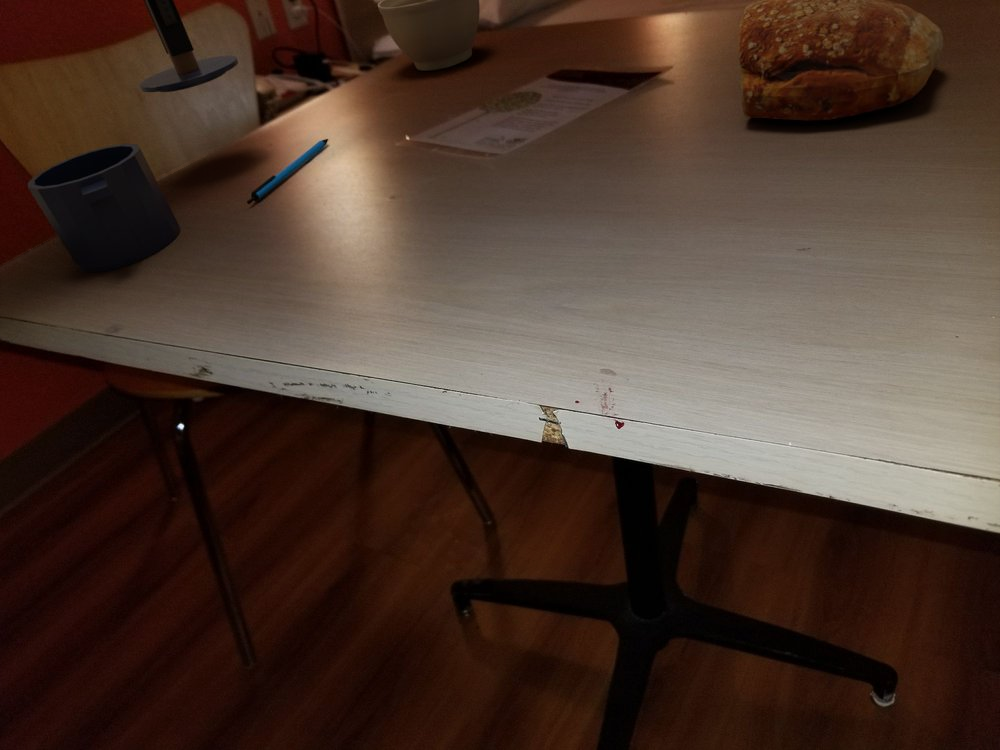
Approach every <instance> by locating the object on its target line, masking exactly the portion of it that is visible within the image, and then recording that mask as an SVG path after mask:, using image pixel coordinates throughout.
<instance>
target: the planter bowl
mask: <svg viewBox="0 0 1000 750" xmlns="http://www.w3.org/2000/svg"><path fill="white" fill-rule="evenodd" d="M480 6H481V5H480V0H381V1H380V2H378V3H377V8H378V11H379V13H380V15H381V16H382V19H383V22H384V26H385V28H386V30H387V32H388V33H389V35H390V37H391V39H392V41H393V42H394V43H395V45H396V46H397V47H398V49H400V51H401V52H402V54H404V55H405V56H406V57H408V58H409V59H410V60H411V61H412V62H413V64H414V66H415V68H416V69H417V70H418V71H422V72H423V71H424V72H429V71H430V72H431V71H437V70H442V69H447V68H450V67H453V66H456V65H459V64H462V63H464V62H466V61H467V60H469V58H471V57H472V55H473V48H472V46H473V43H474V41H475V39H476V36H477V33H478V29H479V23H480V22H479V21H480V14H481V13H480V11H481V8H480Z"/></svg>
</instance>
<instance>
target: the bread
mask: <svg viewBox="0 0 1000 750" xmlns="http://www.w3.org/2000/svg"><path fill="white" fill-rule="evenodd" d="M742 13H743V15H742V19H741V21H740V23H739V27H738V36H737V37H738V40H737V46H738V47H737V48H738V51H737V53H738V54H737V55H738V59H739V65H740V98H741V99H740V100H741V101H740V102H741V107H742V111H743V113H744V115H745V116H746V117H749V118H754V119H773V120H787V121H805V122H807V121H831V120H837V119H843V118H847V117H853V116H857V115H862V114H865V113H870V112H874V111H879V110H883V109H888V108H892V107H895V106H898V105H899V104H901V103H904V102H906V101H909V100H911V99H913V98H914V97H915V96H916V95H918V94H919V92H921V91H922V89H923V88H924V87H925V86H926V85H927V83H928V80H929V78H930V77H931V75H932V73H933V71H934V69H935V68H936V66H937V65H938V64H939V63H940V60H941V56H942V50H943V48H944V44H945V43H944V37H943V33H942V30H941V28H940V27H939V26H938V25H937V24H935V23H934V22H933V21H931V20H930V19H929V18H928V17H927V16H926V15H924V14H922V13H921V12H918V11H917V10H914V9H912V7H909V6H908V5H906V4H902V3H898V2H894V1H890V0H758V1H755V2H753V3H750V4H748V5H747V6H746V7H745V8H744V10H743V12H742Z"/></svg>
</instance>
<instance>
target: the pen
mask: <svg viewBox="0 0 1000 750" xmlns="http://www.w3.org/2000/svg"><path fill="white" fill-rule="evenodd" d="M328 141H329V138H325V139H322V140H319V141H318V142H317V143H316V144H314V145H313V146H312V147H310V148H309V149H308V150H306V151H305V152H304V153H303V154H302V155H300V156H299V157H298V158H296V159H295V160H294V161H292V162H291V163H289V165H288V166H286V167H285V168H284V169H282V170H281V171H280V172H278V173H277V174H276V175H272V176H270V177H269V178H267V179H266V181H264V182H263V183H261V184H260V185H258V187H256V188H255V189H254V190H252V192H251V193H250V194H251V195H250V198H249V199H248V200H247V201H246V204H248V205H250V204H251V203H253V202H258V201H259V200H260V199H262V198H263V197H264V196H265V195H266V194H268V193H269V192H271V190H273V189H274V188H275V187H276V186H277V185H280V183H282V182H283V181H284V180H285V179H286V178H288V177H289V176H290V175H291V174H292V173H294V172H295V171H296V170H298V169H299V168H300V167H302V166H303V165H304V164H305V163H306V162H307V161H308V160H310V159H311V158H312V157H314V156H315V155H316V154H317V153H319V152H320V151H321V150H322V149H324V148H325V147H326V145H327V144H328Z"/></svg>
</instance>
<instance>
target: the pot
mask: <svg viewBox="0 0 1000 750" xmlns="http://www.w3.org/2000/svg"><path fill="white" fill-rule="evenodd" d="M27 188H28V190H29V192H30V193H31V195H32V197H33V198H34V200H35V201H36V203H37V204H38V206H39V208H40V209H41V211H42V213H43V214H44V216H45V217H46V220H47V221H48V222H49V224H50V225H51V227H52V229H53V231H54V232H55V233H56V235H57V237H58V239H59V240H60V242H61V243H62V245H63V247H64V249H65V250H66V252H67V253H68V255H69V257H71V259H72V262H73V263H74V264H75V265H76V266H77V268H78V269H79V270H80V271H82V272H88V273H97V272H99V273H100V272H106V271H111V270H115V269H118V268H122V267H125V266H129V265H131V264H134V263H137V262H139V261H141V260H145V259H146V258H148V257H151V256H152V255H154V254H155V253H158V252H159V251H160V250H162V249H164V248H165V247H167V246H168V245H170V244H171V243H172V242H173V241H174V240H175V239H176V238H177V237H178V235H179V234H180V231H181V227H180V225H179V222H178V221H177V218H176V216H175V214H174V212H173V210H172V208H171V206H170V204H169V203H168V201H167V198H166V197H165V195H164V193H163V191H162V189H161V187H160V184H159V182H158V180H157V179H156V177H155V175H154V173H153V171H152V169H151V167H150V165H149V163H148V160H147V159H146V157H145V156H144V153H143V151H142V149H141V147H140V146H139V145H138V144H137V143H120V144H119V143H118V144H114V145H113V144H112V145H108V146H104V147H101V148H95V149H93V150H89V151H86V152H83V153H80V154H78V155H77V154H76V155H75V156H72V157H69V158H67V159H64V160H61V161H60V162H57V163H55V164H53V165H51V166H48V167H47V168H46V169H44V170H42V171H40V172H39V173H37V174H35V175H34V176H33V177H32V178H31V179H30V180H29V181H28V182H27Z"/></svg>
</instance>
